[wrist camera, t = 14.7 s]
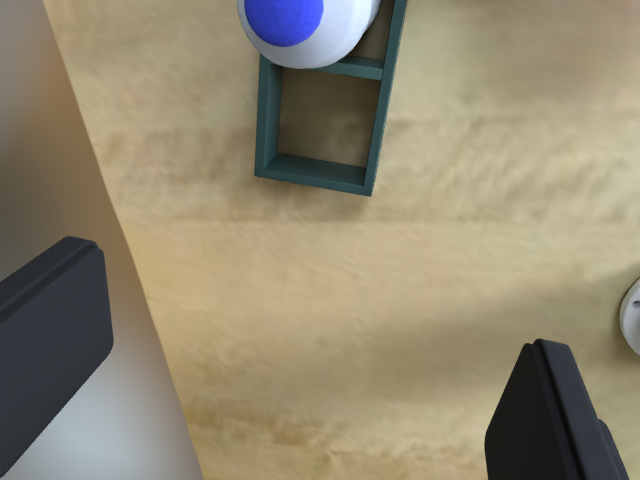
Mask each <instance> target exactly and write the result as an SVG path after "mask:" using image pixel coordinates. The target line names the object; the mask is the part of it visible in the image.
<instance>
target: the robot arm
mask: <svg viewBox="0 0 640 480" xmlns="http://www.w3.org/2000/svg"><path fill="white" fill-rule="evenodd" d="M619 322H620V327H621V331H622V333H623V335H624V337H625V339H626V340H627V342H628V343H629V345H630V346H631V348H632V349H633V350H634V351H635V352H636V353H637V354H638V355H640V279H638V281H637V282H636V283H635V284H634V285H633V286H632V287H631V288H630V290H629V291H628V293H627V295H626V296H625V298H624V300H623V302H622V306H621V309H620V317H619ZM112 346H113V331H112V323H111V313H110V304H109V295H108V287H107V278H106V268H105V259H104V253H103V251H102V250H101V249H99V248H98V246H97V244H96V243H95V242H94V241H90V240H86V239H81V238H77V237H72V236H68V237H65V238H63V239H62V240H60V241H59V242H57V243H56V244H55V245H53V246H52V247H50V248H49V249H47V250H46V251H45V252H43V253H42V254H40V255H39V256H37V257H36V258H34V259H33V260H31V261H30V262H29V263H27V264H26V265H24V266H23V267H22V268H20V269H18V270H17V271H16V272H14V273H13V274H11V275H10V276H9V277H7V278H6V279H4V280H3V281H1V282H0V478H1V477H3V476H4V475H5V474H6V473H7V472H8V471H9V469H10V468H11V467H12V466H13V465H14V464H15V463H16V461H17V460H18V459H19V458H20V457H21V456H22V454H23V453H24V452H25V451H26V450H27V448H29V446H30V445H31V444H32V443H33V442H34V441H35V439H36V438H37V437H38V436H39V435H40V433H42V431H43V430H44V429H45V428H46V427H47V426H48V424H49V423H50V422H51V421H52V420H53V419H54V417H55V416H56V415H57V414H58V413H59V412H60V411H61V409H62V408H63V407H64V406H65V405H66V404H67V402H68V401H69V400H70V399H71V398H72V397H73V395H74V394H75V393H76V392H77V391H78V390H79V389H80V387H81V386H82V385H83V384H84V383H85V382H86V381H87V379H88V378H89V377H90V376H91V375H92V374H93V372H94V371H95V370H96V369H97V368H98V367H99V366H100V364H101V363H102V362H103V361H104V360H105V359H106V357H107V356H108V355H109V353H110V351H111V349H112ZM484 446H485V456H486V464H487V473H488V480H630V479H629V477H628V475H627V472H626V470H625V467H624V465H623V462H622V460H621V457H620V455H619V453H618V450H617V448H616V445H615V443H614V440H613V438H612V435H611V433H610V431H609V429H608V427H607V425H606V424H605V423H604V422H603V421H602V420H600V419H598V418H597V415H596V413H595V410H594V408H593V405H592V403H591V400H590V397H589V395H588V392H587V390H586V387H585V385H584V382H583V380H582V377H581V375H580V372H579V369H578V367H577V364H576V362H575V359H574V357H573V354H572V352H571V349H570V347H569V346H568V345H566V344H562V343H557V342H553V341H548V340H544V339H536V340H535V341H534V343H533V344H529V343H526V344H525V345H524V346H523V348H522V350H521V352H520V355H519V357H518V359H517V362H516V364H515V366H514V369H513V371H512V373H511V375H510V378H509V380H508V382H507V385H506V387H505V389H504V392H503V394H502V396H501V399H500V401H499V403H498V406H497V408H496V410H495V413H494V415H493V417H492V419H491V422H490V424H489V426H488V429H487V431H486V435H485V444H484Z"/></svg>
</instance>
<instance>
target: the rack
mask: <svg viewBox="0 0 640 480" xmlns="http://www.w3.org/2000/svg"><path fill="white" fill-rule="evenodd" d="M407 1H408V0H395V2H394V8H393V14H392V19H391V25H390V31H389V37H388V43H387V49H386V55H385V60H379V59H373V58H366V57H359V56H352V55H345V56H344V57H343V58H341V59H340V60H338V61H336V62H335V63H332V64H330V65H327V66H324V67H319V68H302V69H308V70H315V71H322V72H328V73H335V74H341V75H348V76H354V77H361V78H368V79H374V80H381V84H380V90H379V96H378V102H377V108H376V114H375V120H374V126H373V132H372V138H371V143H370V149H369V155H368V161H367V167H366V168H364V167H358V166H352V165H346V164H341V163H335V162H329V161H323V160H317V159H311V158H306V157H300V156H294V155H288V154H282V153H277V148H278V134H279V120H280V106H281V92H282V78H283V66H281V65H278V64H276V63H274V62H272V61H270V60H269V59H267V58H266V57H265V56H263V55H262V54H261V53H260V68H259V89H258V110H257V131H256V152H255V173H254V176H257V177H263V178H268V179H274V180H280V181H285V182H291V183H297V184H302V185H308V186H314V187H319V188H325V189H330V190H336V191H342V192H347V193H353V194H359V195H364V196H370V197H371V195H372V191H373V186H374V182H375V178H376V172H377V167H378V161H379V156H380V150H381V144H382V139H383V133H384V128H385V122H386V117H387V111H388V106H389V100H390V95H391V89H392V84H393V78H394V73H395V67H396V62H397V56H398V51H399V45H400V40H401V34H402V29H403V23H404V18H405V12H406V7H407Z"/></svg>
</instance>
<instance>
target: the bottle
mask: <svg viewBox="0 0 640 480" xmlns="http://www.w3.org/2000/svg"><path fill="white" fill-rule="evenodd" d="M380 4H381V0H237V5H238V14H239V17H240V21H241V24H242V27H243V29H244V31H245V33H246V35H247V37H248V39H249V40H250V41H251V43H252V44H253V46H254V47H255V48H256V49H257V50H258V51H259V52H260V53H261V54H262V55H263V56H265V57H266V58H267V59H269V60H270V61H272V62H274V63H276V64H278V65H281V66H284V67H289V68H294V69H302V68H319V67H324V66H327V65H330V64H332V63H335V62H336V61H338V60H340V59H341V58H343V57H344V56H345V55H347V54H348V53H349V52H350V51H351V50H352V49H353V48H354V46H355V45H356V44H357V43H358V41H359V40H360V38H361V36H362V34H363V33H364V32H365V31H366V30H367V29H368V28H369V27H370V26H371V25H372V23H373V21H374V20H375V18H376V16H377V14H378V11H379V8H380Z"/></svg>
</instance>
